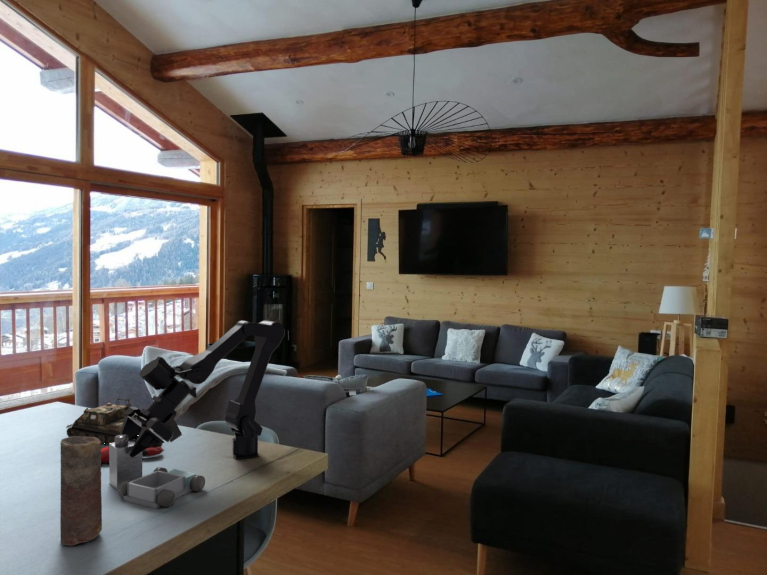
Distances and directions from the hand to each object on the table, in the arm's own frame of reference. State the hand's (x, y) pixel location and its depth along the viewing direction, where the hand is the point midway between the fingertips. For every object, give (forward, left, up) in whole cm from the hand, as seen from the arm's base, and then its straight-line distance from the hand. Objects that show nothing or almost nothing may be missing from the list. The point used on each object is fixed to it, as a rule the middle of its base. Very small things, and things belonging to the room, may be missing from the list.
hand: (124, 451), depth 145 cm
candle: (+7, +28, -8) cm, 30 cm away
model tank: (+6, -42, -9) cm, 43 cm away
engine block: (0, 0, -8) cm, 8 cm away
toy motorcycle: (+3, -21, -9) cm, 23 cm away
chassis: (-9, +9, -8) cm, 15 cm away
